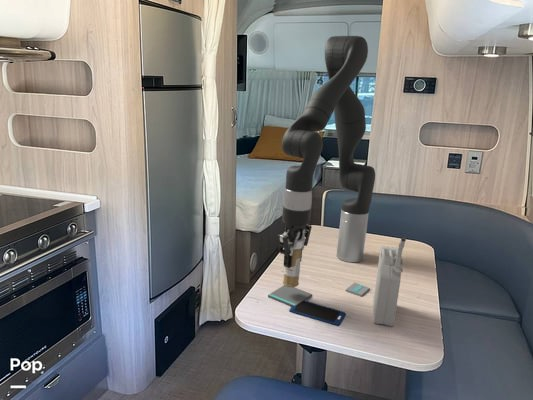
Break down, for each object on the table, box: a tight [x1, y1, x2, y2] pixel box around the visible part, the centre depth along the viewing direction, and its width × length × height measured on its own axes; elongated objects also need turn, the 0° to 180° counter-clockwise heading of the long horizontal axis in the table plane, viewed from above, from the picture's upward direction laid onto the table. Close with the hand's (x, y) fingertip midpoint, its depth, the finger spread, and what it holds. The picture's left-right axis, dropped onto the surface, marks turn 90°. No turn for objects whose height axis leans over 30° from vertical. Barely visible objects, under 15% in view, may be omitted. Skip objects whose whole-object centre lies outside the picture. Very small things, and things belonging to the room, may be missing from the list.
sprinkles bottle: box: [282, 240, 302, 288], centre depth 121 cm, size 5×5×13 cm
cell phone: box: [288, 300, 347, 327], centre depth 116 cm, size 7×14×1 cm, turn 64°
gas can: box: [372, 237, 407, 327], centre depth 113 cm, size 15×5×25 cm, turn 168°
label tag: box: [345, 282, 371, 297], centre depth 130 cm, size 6×5×1 cm
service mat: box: [267, 284, 313, 308], centre depth 124 cm, size 9×9×1 cm
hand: (292, 263), depth 121 cm, fingers closed on sprinkles bottle, 4 cm apart
